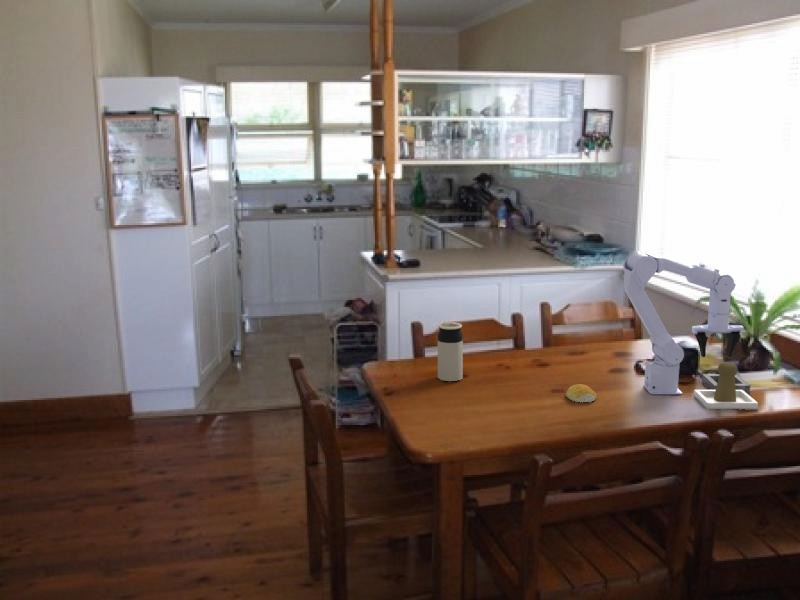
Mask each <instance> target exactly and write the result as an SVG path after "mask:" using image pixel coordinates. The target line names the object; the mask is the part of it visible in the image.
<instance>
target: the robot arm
mask: <svg viewBox="0 0 800 600" xmlns="http://www.w3.org/2000/svg"><path fill="white" fill-rule="evenodd" d="M622 267H623V290H624V291H625V293H626V295H627V297H628V298H629V301H630V303H631V304H632V306H633V308H634V310H635V312H636V314H638V317H639V319H640V321H641V322H642V324H643V326H644V327H645V330H646V332H647V334H648V336H650V337H649V342H650V343H651V350H652V351H651V352H652V353H653V354H654V358H653V359H654V360H653V361H650V362H649V361H647V362H646V364H645V367H644V383H643V386H644V389H646V390H647V392H648V393H649V394H650V395H682V394H683V392H682V391H681V390H680V389H679V378H680V377H679V375H680V366H681V364H680V363H681V362H682V361H683V359H684V357H685V351H684V349H683V348H682V346H680V345H678V344H677V343H676V341H675V339H673V336H671V335H670V334H669V332H668V330H667V328H666V327H665V325H664V323H663V322H662V320H661V317H660V315H659V314H658V312H657V310H656V309H655V307H654V305H653V303H652V301H651V299H650V298H649V296H648V294H647V292H646V290H645V288H646V285H647V283H648V282H650V280H651V278H652V277H653V276H655V274H656V273H657V274H660V273H662V272H663V271H666V272H669V273H673V274H677V275H680V276H683V277H685V278H686V281H687V282H688V283H689V284H692V285H693V284H694V285H695V286H699V287H701V288H705V289H709V297H708V298H709V299H708V311H707V312H708V315H707V316H708V317H707V324H702V325H692V326H691V333H692V334H693V335H694V336H695V338H696V341H697V344H698V347H699V351H700V352H699V353H700V356H701V357H702V358H706V352H707V351H706V350H707V349H706V348H707V342H708V338H709V337H708V336H707V334H726V351H725V353H726V354H725V355H726V356H727V357H729V358H731V357H732V356H733V352H734V350H735V347H736V345H737V344H738V342H739V340H741V336H742V335H741V334H744V331H745V330H744V329H745V327H744V326H743V325H738V324H737V325H733V324H730V323H729V321H730V309H731V306H730V305H731V294H732V292H733V291H734V290H735V288H736V283H735V280H734V278H733V276H731V275H730V274H727V273H725V272H722V271H720V270H719V269H718V268H713V269H712V268H709V267H708V266H706V264H703V263H693V264H692V265H690V266H688V265H685V264H684V263H681V262H678V261H676V260H672V259H669V258H667V257H665V256H661V255H658V254H652V253H647V252H645V253H643V252H641V251H639V250H634V251H631V252H629V253H628V255H627V256H626V258H625V261H624V262H623V264H622Z"/></svg>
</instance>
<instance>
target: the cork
mask: <svg viewBox="0 0 800 600" xmlns="http://www.w3.org/2000/svg"><path fill="white" fill-rule="evenodd" d="M717 372H718V373H719V379H718V383H717V387H716V391H715V396H714V400H716V401H718V402H736V387H735V375H736V374H737V373H738V366H737V365H736V364H735V363H732V362H720V363H719V365H718V367H717ZM737 375H738V374H737Z"/></svg>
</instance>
